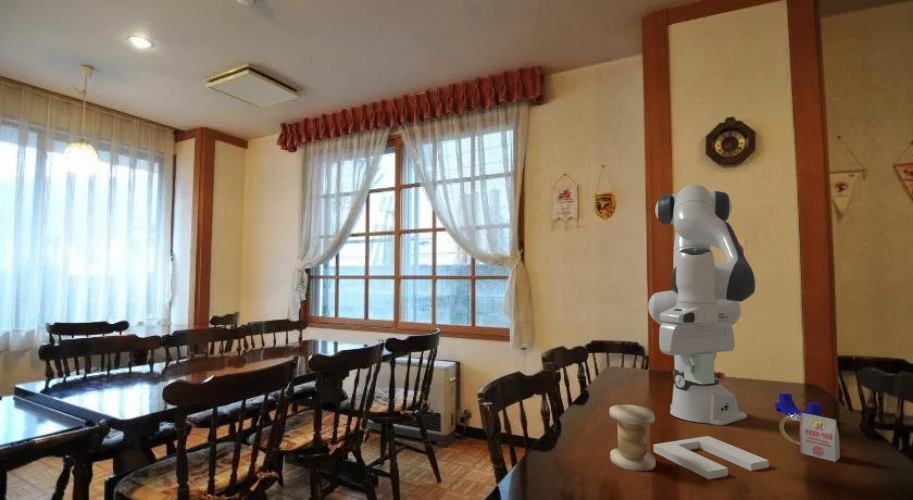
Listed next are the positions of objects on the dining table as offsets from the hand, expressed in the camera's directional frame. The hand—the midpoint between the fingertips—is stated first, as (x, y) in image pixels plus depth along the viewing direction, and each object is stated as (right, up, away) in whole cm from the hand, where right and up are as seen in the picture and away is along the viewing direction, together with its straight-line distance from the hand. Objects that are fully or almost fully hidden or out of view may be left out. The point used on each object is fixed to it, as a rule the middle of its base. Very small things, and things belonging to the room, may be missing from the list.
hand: (698, 371), depth 107 cm
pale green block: (0, -2, 0) cm, 2 cm away
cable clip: (+48, -23, +30) cm, 61 cm away
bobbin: (-17, -21, -2) cm, 27 cm away
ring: (+30, -22, +8) cm, 38 cm away
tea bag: (+30, -21, 0) cm, 37 cm away
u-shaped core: (+2, -21, -1) cm, 21 cm away
